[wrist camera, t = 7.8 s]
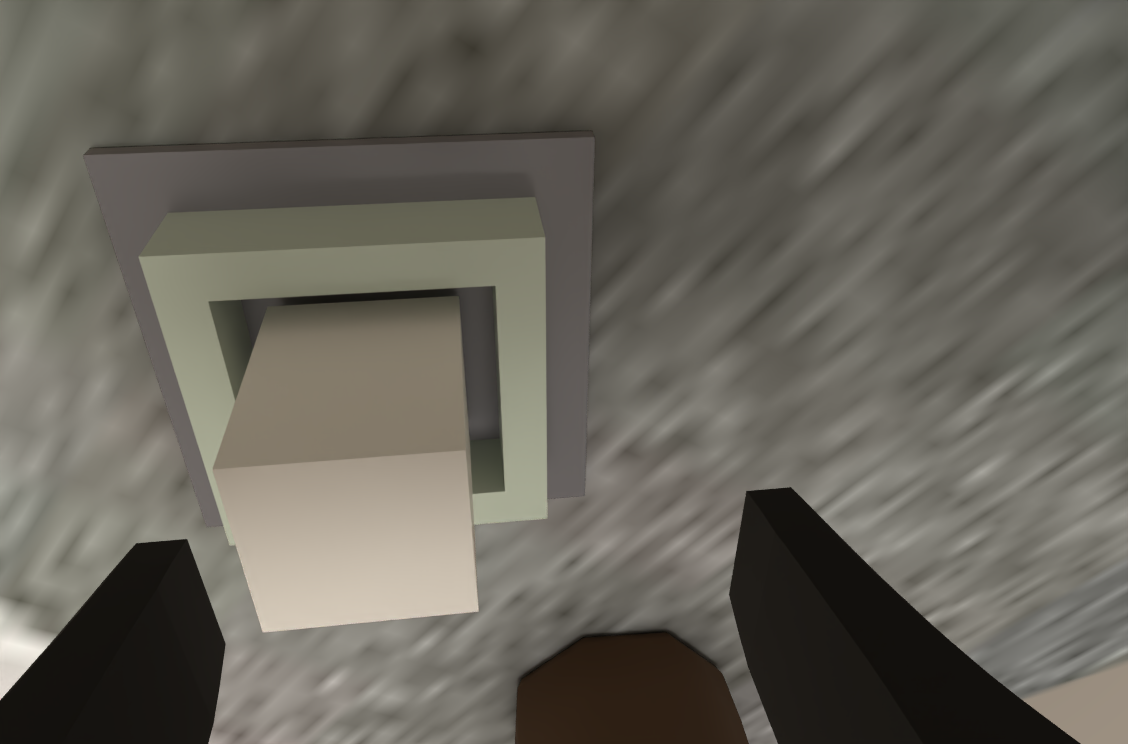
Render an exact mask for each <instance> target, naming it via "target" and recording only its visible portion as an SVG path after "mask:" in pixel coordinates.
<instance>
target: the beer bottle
mask: <svg viewBox="0 0 1128 744" xmlns="http://www.w3.org/2000/svg"><path fill="white" fill-rule="evenodd" d="M515 744H749V743H748V740H747V737H746V734H745V731H744V728H743V725H742V722H741V719H740V716H739V714H738V711H737V709H736V707H735V704H734V702H733V699H732V697H731V694H730V692H729V689H728V687H727V684H726V682H725V679H724V677H723V674H722V673H721V672H720V671H719V670H718V669H717V668H716V667H715V666H714V665H713V664H711V663H710V662H708V661H707V660H705V659H704V658H703V657H701V656H700V655H698V654H697V653H695V652H694V651H693V650H691V649H690V648H688V647H687V646H685V645H684V644H683V643H681V642H680V641H678V640H677V639H675V638H674V637H672V636H671V635H670V634H668V633H667V632H661V633H645V634H630V635H614V636H599V637H584V638H582V639H581V640H579V641H578V642H576V643H575V644H573V645H572V646H570V647H569V648H567V649H566V650H564V651H563V652H561V653H560V654H558V655H557V656H555V657H554V658H552V659H551V660H549V661H548V662H546V663H545V664H543V665H542V666H540V667H539V668H537V669H536V670H534V671H533V672H531V673H530V674H528V675H527V676H526V677H524V678H523V679H522V680H521V682H520V684H519V686H518V692H517V712H516V732H515Z"/></svg>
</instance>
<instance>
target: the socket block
mask: <svg viewBox="0 0 1128 744" xmlns="http://www.w3.org/2000/svg"><path fill="white" fill-rule="evenodd" d="M594 151H595V136H594V134H593V132H592V131H571V132H542V133H513V134H484V135H456V136H427V137H398V138H369V139H341V140H312V141H283V142H254V143H226V144H197V145H168V146H139V147H111V148H90V149H89V150H88V151H87V152H86V153H85V154H84V155H83V157H84V160H85V163H86V166H87V169H88V172H89V175H90V178H91V181H92V184H93V187H94V190H95V193H96V196H97V199H98V202H99V205H100V208H101V211H102V214H103V217H104V220H105V223H106V226H107V229H108V232H109V235H110V238H111V241H112V244H113V247H114V250H115V253H116V256H117V259H118V262H119V265H120V268H121V271H122V274H123V277H124V280H125V283H126V286H127V289H128V292H129V295H130V298H131V301H132V304H133V307H134V310H135V313H136V316H137V319H138V322H139V325H140V328H141V331H142V334H143V337H144V340H145V343H146V346H147V349H148V352H149V355H150V358H151V362H152V365H153V368H154V371H155V374H156V377H157V380H158V383H159V386H160V389H161V392H162V395H163V398H164V401H165V404H166V407H167V410H168V413H169V416H170V419H171V422H172V425H173V428H174V431H175V434H176V437H177V440H178V443H179V446H180V449H181V452H182V455H183V458H184V461H185V464H186V467H187V470H188V473H189V476H190V479H191V482H192V485H193V488H194V491H195V494H196V497H197V500H198V503H199V506H200V509H201V512H202V515H203V518H204V521H205V524H206V527H217V526H224V529H225V532H226V535H227V538H228V542H229V545H236V544H235V541H234V538H233V535H232V531H231V528H230V525H229V522H228V519H227V515H226V512H225V509H224V506H223V503H222V499H221V496H220V493H219V490H218V487H217V483H216V480H215V477H214V474H213V471H212V469H213V466H214V463H215V460H216V457H217V454H218V451H219V448H220V445H221V442H222V439H223V436H224V433H225V430H226V427H227V424H228V421H229V419H230V416H231V413H232V410H233V407H234V404H235V401H236V398H237V395H238V392H239V389H240V386H241V383H242V380H243V377H244V374H245V371H246V368H247V366H248V363H249V360H250V357H251V354H252V351H253V348H254V345H255V342H256V339H257V336H258V333H259V330H260V327H261V324H262V321H263V318H264V316H265V313H266V310H267V307H269V306H286V305H304V304H322V303H340V302H357V301H375V300H393V299H411V298H429V297H446V296H459V303H460V317H461V330H462V343H463V356H464V369H465V382H466V396H467V409H468V422H469V435H470V452H471V472H472V491H473V511H474V525H476V524H488V523H500V522H511V521H523V520H535V519H547V499H555V498H567V497H579V496H585V472H586V437H587V401H588V365H589V330H590V294H591V258H592V222H593V187H594Z"/></svg>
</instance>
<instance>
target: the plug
mask: <svg viewBox="0 0 1128 744" xmlns="http://www.w3.org/2000/svg"><path fill="white" fill-rule="evenodd" d="M212 471H213V474H214V477H215V480H216V483H217V487H218V490H219V493H220V496H221V499H222V503H223V506H224V509H225V512H226V515H227V519H228V522H229V525H230V528H231V531H232V535H233V538H234V541H235V544H236V548H237V551H238V554H239V557H240V560H241V564H242V567H243V570H244V573H245V576H246V580H247V583H248V586H249V589H250V592H251V596H252V599H253V602H254V605H255V608H256V612H257V615H258V618H259V621H260V625H261V628H262V631H263V632H272V631H282V630H293V629H303V628H313V627H324V626H334V625H344V624H354V623H365V622H375V621H385V620H396V619H406V618H416V617H426V616H437V615H447V614H457V613H468V612H478V611H479V609H478V590H477V570H476V550H475V531H474V511H473V491H472V472H471V452H470V435H469V422H468V409H467V396H466V382H465V369H464V356H463V343H462V330H461V317H460V303H459V296H446V297H429V298H411V299H393V300H375V301H357V302H340V303H322V304H304V305H286V306H269V307H267V310H266V313H265V316H264V318H263V321H262V324H261V327H260V330H259V333H258V336H257V339H256V342H255V345H254V348H253V351H252V354H251V357H250V360H249V363H248V366H247V368H246V371H245V374H244V377H243V380H242V383H241V386H240V389H239V392H238V395H237V398H236V401H235V404H234V407H233V410H232V413H231V416H230V419H229V421H228V424H227V427H226V430H225V433H224V436H223V439H222V442H221V445H220V448H219V451H218V454H217V457H216V460H215V463H214V466H213V469H212Z"/></svg>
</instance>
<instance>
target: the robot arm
mask: <svg viewBox="0 0 1128 744" xmlns="http://www.w3.org/2000/svg"><path fill="white" fill-rule="evenodd" d="M729 596H730V600H731V604H732V608H733V612H734V616H735V620H736V624H737V628H738V632H739V635H740V639H741V643H742V646H743V650H744V653H745V657H746V661H747V664H748V667H749V670H750V673H751V675H752V678H753V681H754V683H755V686H756V688H757V691H758V694H759V696H760V699H761V701H762V704H763V706H764V709H765V711H766V714H767V717H768V719H769V722H770V724H771V727H772V729H773V732H774V734H775V737H776V739H777V742H778V744H1080V743H1079V742H1077V741H1076V740H1075V739H1073V738H1072V737H1071V736H1069V735H1068V734H1066V733H1065V732H1064V731H1063V730H1061V729H1060V728H1058V727H1057V726H1056V725H1055V724H1053V723H1052V722H1051V721H1049V720H1048V719H1047V718H1045V717H1044V716H1043V715H1041V714H1040V713H1039V712H1037V711H1036V710H1035V709H1033V708H1032V707H1031V706H1029V705H1028V704H1027V703H1025V702H1024V701H1023V700H1021V699H1020V698H1019V697H1017V696H1016V695H1015V694H1014V693H1012V692H1011V691H1010V690H1009V689H1007V688H1006V687H1005V686H1003V685H1002V684H1001V683H1000V682H998V681H997V680H996V679H995V678H993V677H992V676H991V675H990V674H989V673H987V672H986V671H985V670H984V669H983V668H981V667H980V666H979V665H978V664H977V663H976V662H974V661H973V660H972V659H971V658H970V657H968V656H967V655H966V654H965V653H964V652H963V651H961V650H960V649H959V648H958V647H957V646H956V645H954V644H953V643H952V642H951V641H950V640H949V639H947V638H946V637H945V636H944V635H943V634H942V633H941V632H940V631H938V630H937V629H936V628H935V627H934V626H933V625H932V624H931V623H930V622H928V621H927V620H926V619H925V618H924V617H923V616H922V615H921V614H920V613H919V612H918V611H916V610H915V609H914V608H913V607H912V606H911V605H910V604H909V603H908V602H907V601H906V600H905V599H904V598H903V597H901V596H900V595H899V594H898V593H897V592H896V591H895V590H894V589H893V588H892V587H891V586H890V585H889V584H888V583H887V582H885V581H884V580H883V579H882V578H881V577H880V576H879V575H878V574H877V573H876V572H875V571H874V570H873V569H872V568H871V567H870V566H869V565H868V564H867V563H866V562H865V561H864V560H863V559H862V558H861V557H860V556H859V555H858V554H857V553H856V552H855V551H854V550H853V549H852V548H851V547H850V546H849V545H848V544H847V543H846V542H845V541H844V540H843V539H842V538H841V537H840V536H839V535H838V534H837V533H836V532H835V531H834V530H833V529H832V528H831V527H830V526H829V525H828V524H827V523H826V522H825V521H824V520H823V519H822V518H821V517H820V516H819V515H818V514H817V513H816V512H815V511H814V510H813V509H812V508H811V507H810V506H809V505H808V504H807V503H806V502H805V501H804V500H803V499H802V498H801V497H800V496H799V495H798V494H797V493H796V492H795V491H794V490H793V489H792V488H791V487H790V488H778V489H766V490H755V491H746V497H745V503H744V509H743V515H742V521H741V527H740V533H739V539H738V545H737V551H736V557H735V563H734V569H733V575H732V581H731V586H730V592H729ZM224 651H225V641H224V638H223V636H222V633H221V630H220V628H219V625H218V622H217V619H216V617H215V614H214V611H213V608H212V606H211V603H210V600H209V598H208V595H207V592H206V589H205V587H204V584H203V581H202V579H201V576H200V573H199V570H198V568H197V565H196V562H195V559H194V557H193V554H192V551H191V549H190V546H189V543H188V540H187V539H183V540H171V541H159V542H148V543H136V544H135V546H134V547H133V548H132V549H131V550H130V551H129V552H128V553H127V554H126V556H125V557H124V558H123V559H122V560H121V561H120V562H119V564H118V565H117V566H116V567H115V568H114V569H113V571H112V572H111V573H110V574H109V575H108V576H107V578H106V579H105V580H104V581H103V582H102V583H101V585H100V586H99V587H98V588H97V589H96V591H95V592H94V593H93V594H92V595H91V597H90V598H89V599H88V600H87V601H86V602H85V604H84V605H83V606H82V607H81V608H80V610H79V611H78V612H77V613H76V614H75V615H74V617H73V618H72V619H71V620H70V621H69V622H68V624H67V625H66V626H65V627H64V628H63V629H62V631H61V632H60V633H59V634H58V635H57V636H56V638H55V639H54V640H53V641H52V642H51V643H50V645H49V646H48V647H47V648H46V649H45V650H44V651H43V653H42V654H41V655H40V656H39V657H38V658H37V659H36V660H35V662H34V663H33V664H32V665H31V666H30V667H29V668H28V669H27V671H26V672H25V673H24V674H23V675H22V676H21V677H20V679H19V680H18V681H17V682H16V683H15V684H14V685H13V686H12V688H11V689H10V690H9V691H8V692H7V693H6V694H5V695H4V697H3V698H2V699H1V700H0V744H208V742H209V738H210V735H211V731H212V727H213V723H214V717H215V711H216V705H217V699H218V693H219V687H220V680H221V673H222V666H223V658H224Z"/></svg>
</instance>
